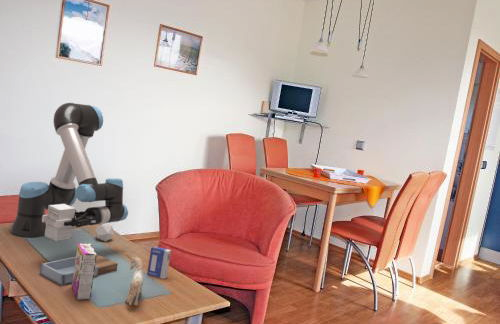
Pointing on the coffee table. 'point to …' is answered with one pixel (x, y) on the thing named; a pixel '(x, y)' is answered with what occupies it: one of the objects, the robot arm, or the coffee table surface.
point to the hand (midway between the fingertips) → (49, 221)
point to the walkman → (159, 262)
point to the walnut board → (105, 265)
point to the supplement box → (59, 214)
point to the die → (104, 232)
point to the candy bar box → (84, 271)
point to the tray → (61, 270)
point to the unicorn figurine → (135, 280)
